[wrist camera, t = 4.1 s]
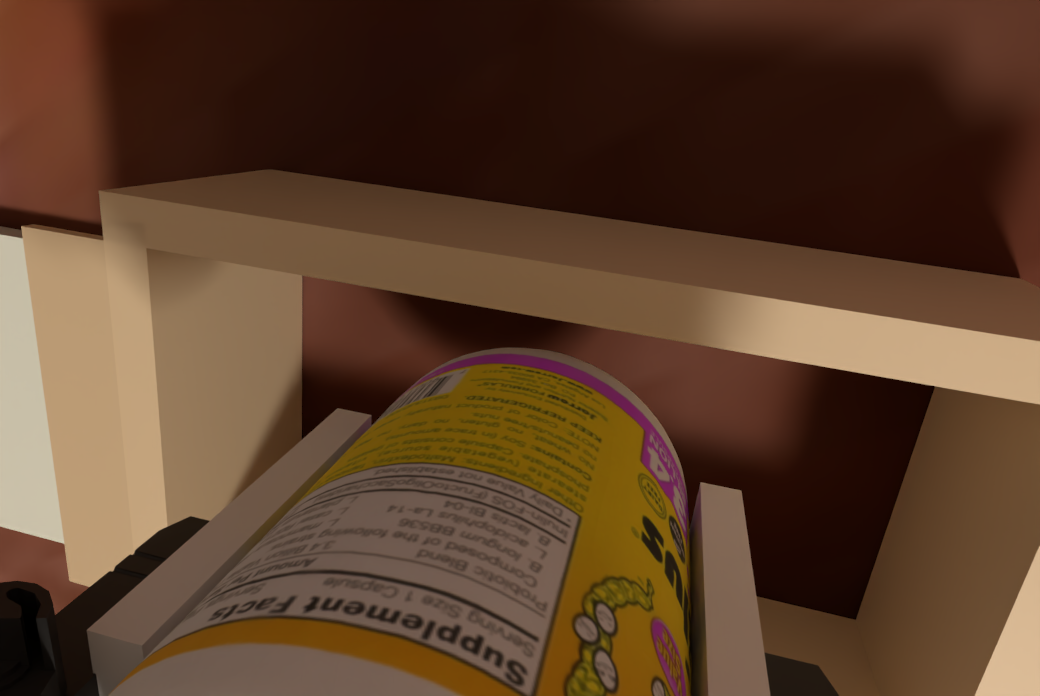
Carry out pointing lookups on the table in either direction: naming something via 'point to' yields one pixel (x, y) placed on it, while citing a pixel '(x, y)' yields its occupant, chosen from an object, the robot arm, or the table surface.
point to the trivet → (23, 406)
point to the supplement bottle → (464, 554)
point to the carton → (560, 296)
